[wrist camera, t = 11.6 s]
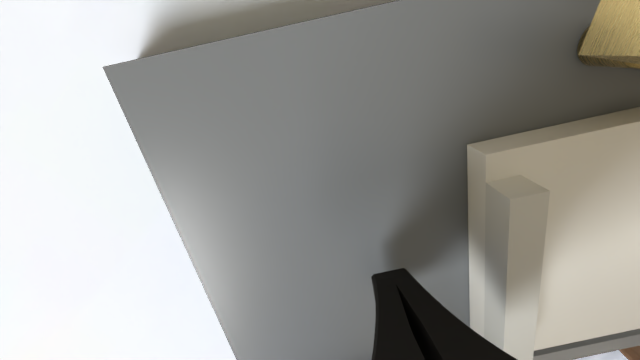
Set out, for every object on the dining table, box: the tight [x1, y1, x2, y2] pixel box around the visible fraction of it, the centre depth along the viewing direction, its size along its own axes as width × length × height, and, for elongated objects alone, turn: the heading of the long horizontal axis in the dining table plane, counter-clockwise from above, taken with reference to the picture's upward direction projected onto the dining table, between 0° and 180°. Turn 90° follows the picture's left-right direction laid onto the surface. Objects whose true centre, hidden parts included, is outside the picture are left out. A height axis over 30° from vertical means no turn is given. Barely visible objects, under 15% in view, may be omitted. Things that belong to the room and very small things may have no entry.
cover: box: [467, 107, 640, 360], centre depth 12 cm, size 10×9×2 cm
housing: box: [103, 0, 640, 360], centre depth 13 cm, size 17×21×3 cm
